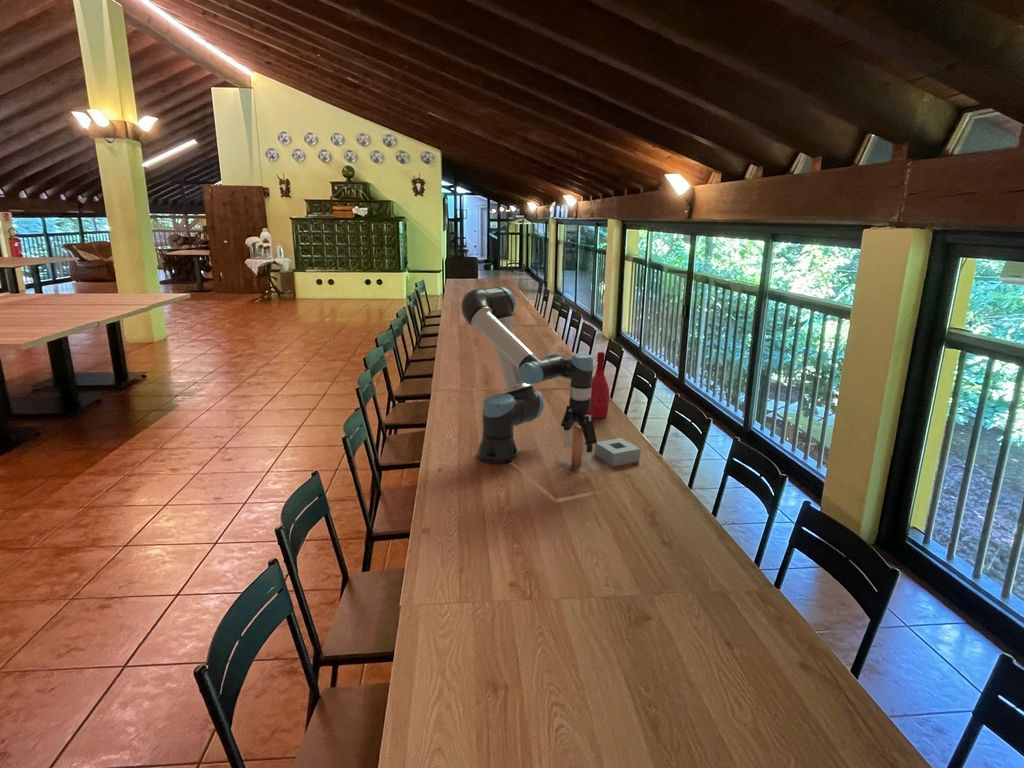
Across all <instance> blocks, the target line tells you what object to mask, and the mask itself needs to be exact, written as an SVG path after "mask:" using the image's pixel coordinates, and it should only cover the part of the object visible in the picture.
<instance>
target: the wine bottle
mask: <svg viewBox="0 0 1024 768" xmlns="http://www.w3.org/2000/svg"><path fill="white" fill-rule="evenodd" d="M596 355H597V357H596V358H597V359H596V362H597V365H596V371H595V373H594V376H593V377H592V387H591V397H590V399H591V406H590V409H589V410H588V411H587V413H588V415H589V416H590V415H592V416H593V419H604V418H606V417H607V416H608V412H609V402H610V389H609V388H610V387H609V384H608V381H607V379H606V376H605V372H604V370H605V369H604V363H605V356H606V354H605V352H604V351H599V352H597V354H596Z"/></svg>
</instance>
